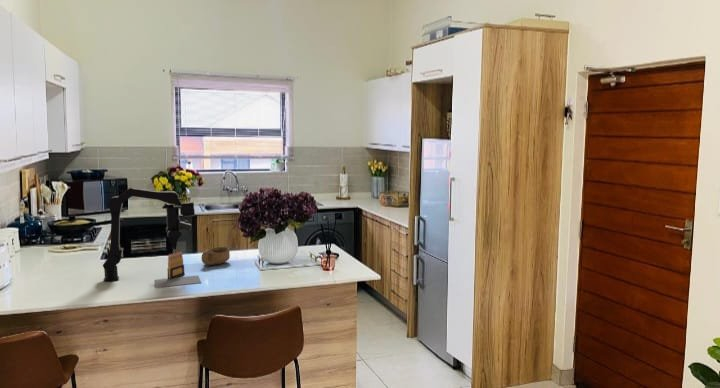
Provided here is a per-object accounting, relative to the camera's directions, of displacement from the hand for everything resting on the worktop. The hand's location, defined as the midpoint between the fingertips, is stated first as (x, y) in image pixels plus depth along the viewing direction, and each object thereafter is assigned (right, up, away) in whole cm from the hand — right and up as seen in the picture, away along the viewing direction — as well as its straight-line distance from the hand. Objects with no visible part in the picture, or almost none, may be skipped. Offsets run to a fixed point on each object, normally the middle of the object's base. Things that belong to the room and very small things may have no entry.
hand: (174, 248), depth 271 cm
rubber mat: (+6, -14, -12) cm, 20 cm away
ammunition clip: (+2, -14, -4) cm, 14 cm away
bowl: (+14, -11, +22) cm, 29 cm away
